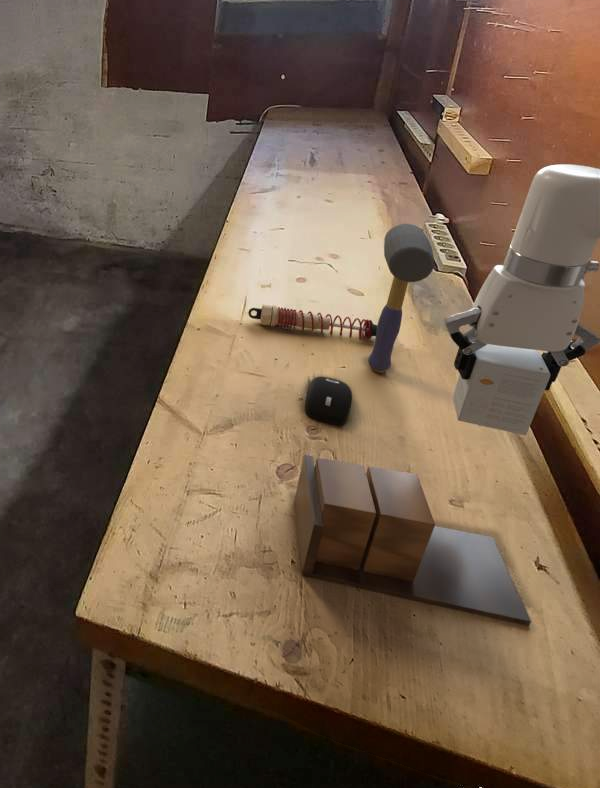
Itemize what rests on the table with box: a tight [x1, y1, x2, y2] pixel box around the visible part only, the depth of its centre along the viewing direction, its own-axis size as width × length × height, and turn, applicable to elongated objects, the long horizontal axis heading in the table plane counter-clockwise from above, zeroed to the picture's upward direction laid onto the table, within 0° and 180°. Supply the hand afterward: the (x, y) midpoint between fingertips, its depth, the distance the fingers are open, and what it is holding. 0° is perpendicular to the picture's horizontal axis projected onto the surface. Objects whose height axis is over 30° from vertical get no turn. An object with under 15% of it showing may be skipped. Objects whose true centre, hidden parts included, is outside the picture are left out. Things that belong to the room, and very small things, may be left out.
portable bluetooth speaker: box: [304, 376, 353, 426], centre depth 104 cm, size 8×12×4 cm, turn 151°
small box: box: [452, 344, 550, 436], centre depth 77 cm, size 8×6×10 cm
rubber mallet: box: [367, 223, 435, 374], centre depth 107 cm, size 12×8×30 cm, turn 156°
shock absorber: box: [247, 304, 378, 341], centre depth 125 cm, size 5×5×30 cm
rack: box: [293, 454, 532, 626], centre depth 74 cm, size 26×12×12 cm, turn 74°
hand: (500, 378), depth 77 cm, fingers closed on small box, 8 cm apart
